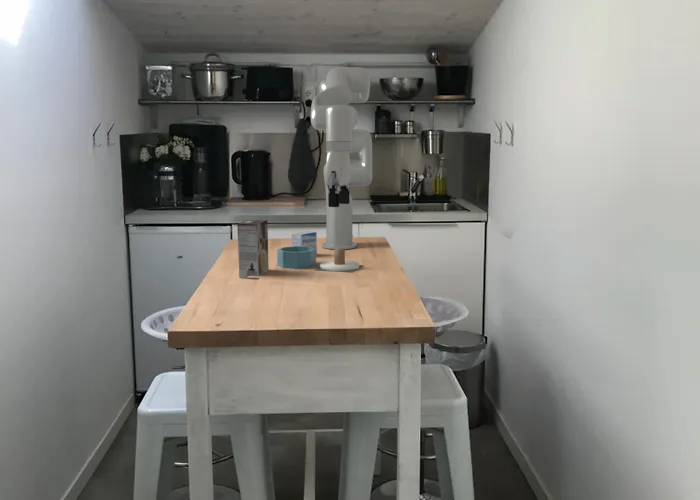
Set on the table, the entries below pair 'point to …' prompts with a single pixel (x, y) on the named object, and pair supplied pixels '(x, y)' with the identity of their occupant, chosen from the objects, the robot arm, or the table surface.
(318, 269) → the mat
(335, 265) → the lid
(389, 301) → the table surface
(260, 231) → the coffee box
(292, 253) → the pot
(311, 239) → the medicine box
